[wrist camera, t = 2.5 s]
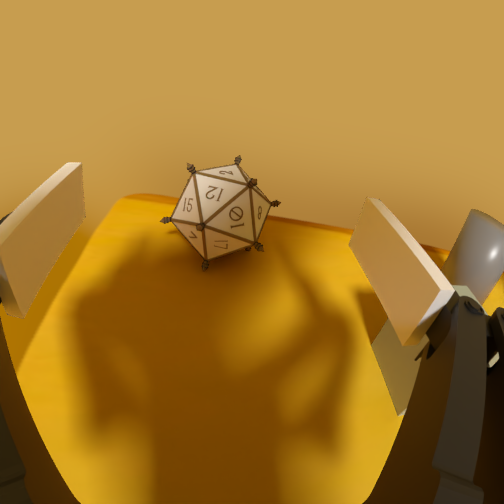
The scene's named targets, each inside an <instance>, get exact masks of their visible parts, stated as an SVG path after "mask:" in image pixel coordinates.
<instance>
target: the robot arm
mask: <svg viewBox="0 0 504 504" xmlns="http://www.w3.org/2000/svg"><path fill="white" fill-rule="evenodd" d="M85 217H86V216H85V205H84V192H83V176H82V163H71V162H68V163H66V164H65V165H64V166H63V167H61V168H60V169H59V170H58V171H57V172H55V173H54V174H53V175H52V176H51V177H50V178H48V179H47V180H46V181H45V182H44V183H43V184H42V185H41V186H40V187H38V188H37V189H36V190H35V191H34V192H33V193H32V194H31V195H30V196H29V197H27V198H26V199H25V200H24V201H23V202H22V203H21V204H20V205H19V206H18V207H17V208H16V209H15V210H14V211H13V212H11V213H10V214H8V215H6V216H5V217H3V218H2V219H1V220H0V303H1V302H2V304H3V306H4V308H5V311H6V313H7V315H11V316H15V317H19V318H24V317H25V315H26V313H27V312H28V310H29V308H30V306H31V304H32V302H33V300H34V298H35V297H36V295H37V292H38V291H39V289H40V288H41V286H42V284H43V282H44V281H45V279H46V277H47V276H48V274H49V272H50V271H51V269H52V267H53V266H54V264H55V262H56V261H57V259H58V258H59V256H60V254H61V253H62V251H63V250H64V248H65V247H66V245H67V244H68V242H69V241H70V239H71V238H72V236H73V235H74V233H75V232H76V230H77V229H78V227H79V226H80V225H81V223H82V222H83V220H84V219H85ZM349 246H350V248H351V250H352V251H353V253H354V255H355V257H356V258H357V260H358V262H359V264H360V265H361V267H362V269H363V271H364V273H365V274H366V276H367V278H368V280H369V282H370V283H371V285H372V287H373V289H374V291H375V293H376V295H377V297H378V298H379V300H380V302H381V304H382V306H383V308H384V310H385V312H386V314H387V316H388V318H389V320H390V322H391V324H392V326H393V328H394V330H395V332H396V334H397V336H398V338H399V340H400V342H401V344H402V346H409V345H417V344H418V343H419V342H420V340H421V339H422V338H423V336H424V335H425V334H426V335H427V337H428V339H429V341H428V342H427V344H426V345H425V346H424V348H423V349H422V350H421V351H420V353H419V354H418V355H417V356H416V358H415V359H414V360H415V361H417V360H418V359H419V358H421V357H422V358H421V362H420V366H419V370H418V373H417V377H416V380H415V384H414V387H413V390H412V393H411V397H410V400H409V403H408V406H407V409H406V412H405V415H404V417H403V420H402V423H401V426H400V428H399V431H398V434H397V436H396V439H395V441H394V444H393V446H392V449H391V451H390V454H389V456H388V458H387V461H386V463H385V465H384V467H383V470H382V472H381V474H380V476H379V478H378V480H377V482H376V484H375V486H374V488H373V490H372V492H371V494H370V496H369V497H368V498H367V500H366V501H365V502H364V503H362V504H504V308H501V307H499V308H497V309H496V310H495V312H494V313H493V314H492V316H488V315H485V313H484V310H483V308H482V307H481V306H480V305H479V303H478V302H477V301H475V300H474V299H472V298H470V297H468V296H459V294H458V293H457V292H456V290H455V289H454V288H453V286H452V285H451V284H450V282H449V281H448V279H447V278H446V277H445V276H444V274H443V273H442V272H441V270H439V268H438V266H437V265H436V264H435V263H434V261H433V260H432V259H431V258H430V257H429V256H428V254H427V253H426V252H425V251H424V249H423V248H422V247H421V246H420V245H419V243H418V242H417V241H416V240H415V239H414V238H413V236H412V235H411V234H410V233H409V232H408V230H407V229H406V228H405V227H404V226H403V225H402V224H401V222H400V221H399V220H398V219H397V218H396V217H395V216H394V215H393V213H392V212H391V211H390V210H389V209H388V208H387V207H386V206H385V205H384V204H383V203H382V202H381V200H380V199H375V198H370V197H366V200H365V202H364V205H363V208H362V211H361V213H360V216H359V219H358V221H357V224H356V227H355V229H354V232H353V234H352V237H351V240H350V242H349ZM497 353H498V354H499V359H498V361H497V362H496V363H495V364H494V365H493V366H492V367H490V365H489V362H490V361H491V360H492V359H493V358H494V356H495V355H496V354H497ZM0 504H81V503H80V502H79V501H78V500H77V499H76V498H75V497H74V495H73V494H72V492H71V491H70V489H69V488H68V486H67V484H66V483H65V481H64V479H63V478H62V476H61V474H60V473H59V471H58V469H57V467H56V465H55V464H54V462H53V460H52V458H51V456H50V454H49V452H48V450H47V448H46V446H45V444H44V442H43V440H42V438H41V436H40V434H39V432H38V430H37V427H36V425H35V423H34V421H33V418H32V416H31V414H30V411H29V409H28V406H27V404H26V401H25V399H24V396H23V393H22V391H21V388H20V385H19V382H18V379H17V376H16V373H15V370H14V367H13V364H12V361H11V357H10V354H9V350H8V347H7V343H6V339H5V335H4V332H3V327H2V323H1V318H0Z"/></svg>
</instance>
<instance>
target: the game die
mask: <svg viewBox="0 0 504 504" xmlns="http://www.w3.org/2000/svg"><path fill="white" fill-rule="evenodd" d="M241 160H242V159H241V157H240V155H239V156H238V157H236V158H235V164H232V165H226V166H220V167H214V168H209V169H204V170H198V171H196V170H195V167H194V166H193V165H191V164H189V163H187V170H189V172H191V173H192V174H191V176H190V178H189V179H188V182H187V184H186V186H185V188H184V190H183V193H182V194H181V196H180V199H179V201H178V203H177V205H176V207H175V209H174V211H173V213H172V215H171V217H164V218H163V219H162V220H161V221H160V222H162V223H164V224H165V223H168V222H172V223H173V224H174V225H175V226H176V227H177V229H178V230H179V231H180V232H181V233H182V234H183V236H184V237H185V238H186V239H187V240H188V241H189V243H190V244H191V245H192V246H193V247H194V248H195V249H196V251H197V252H198V253H199V254H200V255H201V256H202V257H203V259H204V262H203V265H202V269H203V271H204V270H206V269H207V268H208V265H209V264H208V262H209V261H210V260H213V259H216V258H219V257H222V256H225V255H228V254H230V253H233V252H236V251H239V250H242V249H245V250H246V251H250V249H251V246H255V248H256V249H257V250H258V251H264V250H263V245H261V243H258V242H257V241H258V239H259V236H260V233H261V231H262V228H263V226H264V223H265V220H266V218H267V215H268V213H269V210H270V207H271V206H274V207H275V206H277V207H278V205H279V204H280V203H281V202H279V201H277V200H276V201H273V202H270V201H269V200H268V199H267V197H266V196H265V195H264V194H263V193H262V191H261V190H260V189H259V188H258V187H257V186H256V185H257V179H253V178H251V179H250V178H249V176H248V175H247V174H246V173H245V172H244V171H243V170H242V168H241V167H240V166H239V163H240V161H241Z"/></svg>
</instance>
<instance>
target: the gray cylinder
mask: <svg viewBox="0 0 504 504" xmlns="http://www.w3.org/2000/svg"><path fill="white" fill-rule="evenodd" d="M503 271H504V225H503V224H502V223H500V222H499V221H497V220H496V219H494V218H493V217H491V216H489V215H488V214H486V213H483V212H481V211H479V210H475V209H471V211H470V213H469V215H468V217H467V219H466V222H465V224H464V226H463V228H462V231H461V232H460V234H459V236H458V238H457V240H456V242H455V244H454V246H453V248H452V250H451V252H450V254H449V256H448V258H447V260H446V261H445V263H444V265H443V267H442V269H441V272H442V273H443V274H444V276H445V277H446V278H447V279H448V281H449V282H450V284H451V285H459V286H467V287H468V288H469V289H470V291H471V292H472V293H473V295H474V296H475V297H476V299H477V300H478V302H479V303H480V304H481V306H482V304H483V303H484V301H485V300H486V298H487V297H488V295H489V294H490V292H491V291H492V289H493V288H494V286H495V285H496V283H497V281H498V280H499V278H500V276H501V275H502V273H503Z"/></svg>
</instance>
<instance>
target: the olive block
mask: <svg viewBox="0 0 504 504" xmlns="http://www.w3.org/2000/svg"><path fill="white" fill-rule="evenodd" d="M452 286H453V288H454V289H455V290H456V292H457V293H458V294H459V296H468V297H470V298H472V299H474V300H475V301H477V302H478V300H477V299H476V297H475V296H474V295H473V293H472V292H471V291H470V289H469V288H468V287H467V286H459V285H452ZM478 303H479V302H478ZM479 305H480V306H481V304H480V303H479ZM481 307H482V306H481ZM482 308H483V307H482ZM483 310H484V309H483ZM484 313H485V315H488V314H487V313H486V311H485V310H484ZM428 341H429V339H428V337H427V335H426V334H425V335H424V336H423V338H422V339H421V340H420V342H419V343H418V344H417V345H409V346H402V344H401V342H400V340H399V338H398V336H397V334H396V332H395V330H394V328H393V326H392V324H391V322H390V320H389V318H388V319H387V321H386V323H385V324H384V326H383V327H382V329H381V331H380V332H379V334H378V335H377V337H376V338H375V340H374V341H373V343H372V344H371V346H372V349H373V351H374V354H375V356H376V359H377V361H378V364H379V367H380V369H381V372H382V374H383V377H384V379H385V382H386V385H387V387H388V390H389V393H390V396H391V398H392V401H393V404H394V407H395V409H396V412H397V415H398V416H400V415H405V412H406V409H407V406H408V403H409V400H410V397H411V393H412V390H413V387H414V384H415V380H416V377H417V373H418V370H419V366H420V362H421V358H422V357H421V358H419V359H418V360H417V361H415V360H414V359H415V358H416V356H417V355H418V354H419V353H420V351H421V350H422V349H423V348H424V346H425V345H426V344H427V342H428ZM498 359H499V354H498V353H497V354H496V355H495V356H494V358H493V359H492V360H491V361H490V362H489V365H490V367H492V366H493V365H494V363H495V362H496V361H497V360H498Z"/></svg>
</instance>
